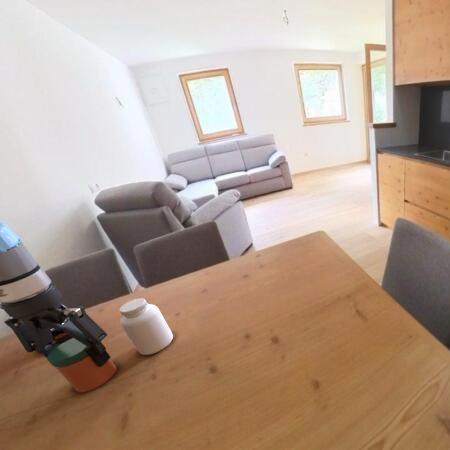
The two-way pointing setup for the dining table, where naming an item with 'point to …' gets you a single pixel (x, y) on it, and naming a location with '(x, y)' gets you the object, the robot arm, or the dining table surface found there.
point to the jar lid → (67, 353)
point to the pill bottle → (145, 326)
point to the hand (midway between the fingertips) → (86, 364)
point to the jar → (87, 373)
